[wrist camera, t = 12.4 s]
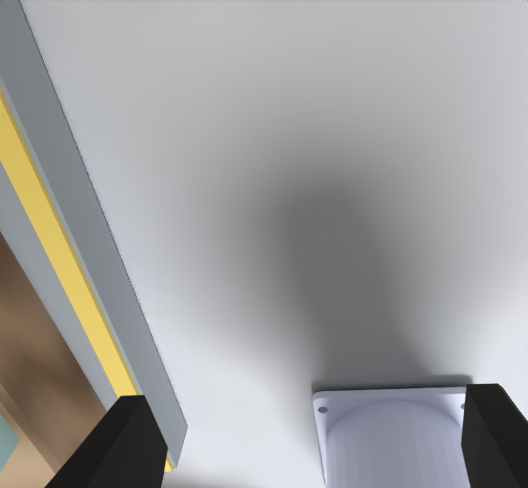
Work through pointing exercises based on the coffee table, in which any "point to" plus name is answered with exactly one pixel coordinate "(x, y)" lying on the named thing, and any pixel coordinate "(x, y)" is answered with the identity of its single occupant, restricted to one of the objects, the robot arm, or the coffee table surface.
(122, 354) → the dock
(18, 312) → the wooden plank
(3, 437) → the teal square block
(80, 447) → the robot arm
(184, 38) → the coffee table surface
